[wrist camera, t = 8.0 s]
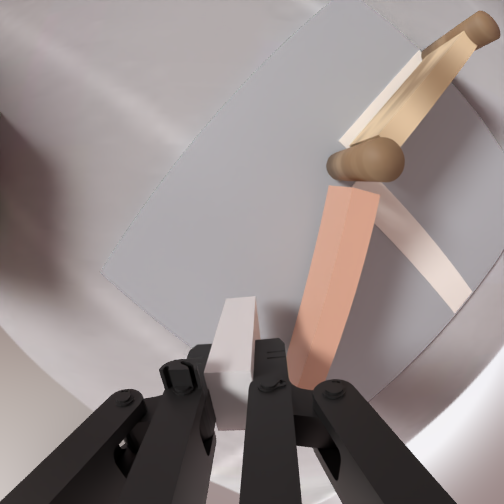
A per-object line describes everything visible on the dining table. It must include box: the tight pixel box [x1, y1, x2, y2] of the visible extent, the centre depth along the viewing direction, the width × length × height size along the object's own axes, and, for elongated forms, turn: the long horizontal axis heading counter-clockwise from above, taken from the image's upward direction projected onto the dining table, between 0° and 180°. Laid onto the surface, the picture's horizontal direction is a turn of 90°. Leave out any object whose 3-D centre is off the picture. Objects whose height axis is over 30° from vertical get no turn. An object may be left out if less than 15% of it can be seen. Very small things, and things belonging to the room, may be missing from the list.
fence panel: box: [286, 185, 380, 390], centre depth 14 cm, size 12×2×6 cm, turn 169°
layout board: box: [100, 0, 504, 402], centre depth 17 cm, size 24×20×1 cm
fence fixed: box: [326, 11, 500, 182], centre depth 12 cm, size 12×2×6 cm, turn 140°
